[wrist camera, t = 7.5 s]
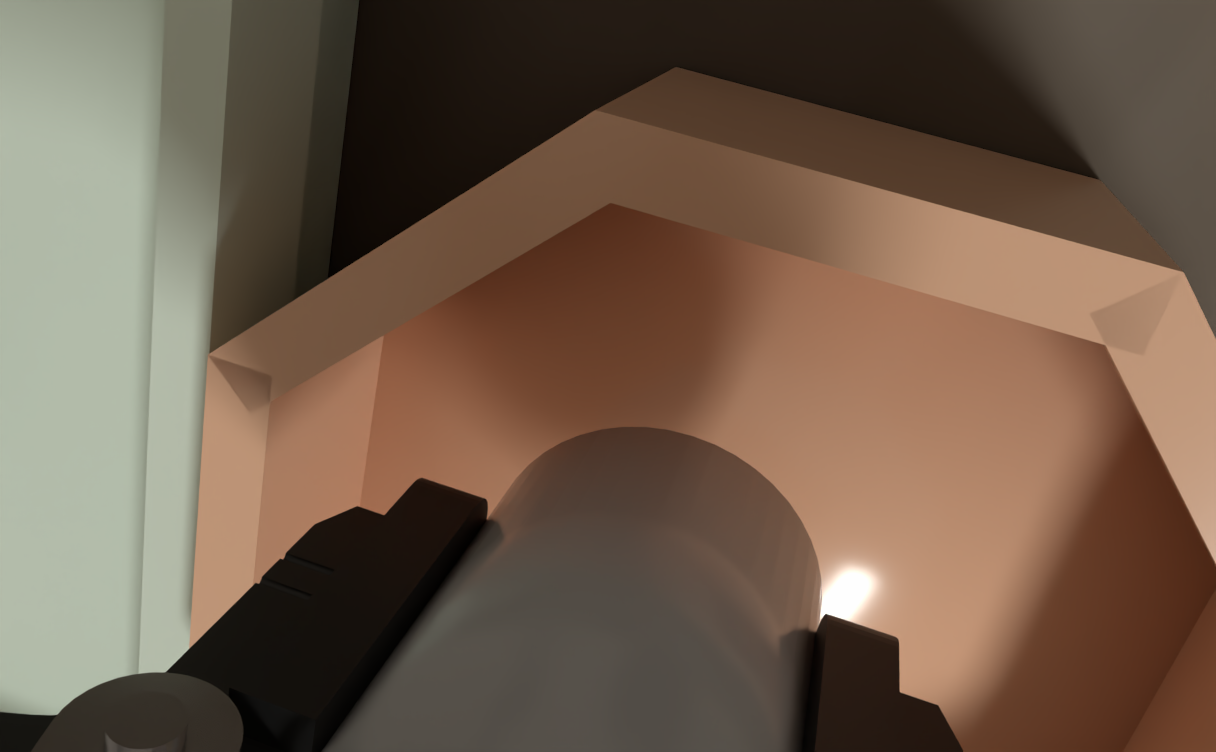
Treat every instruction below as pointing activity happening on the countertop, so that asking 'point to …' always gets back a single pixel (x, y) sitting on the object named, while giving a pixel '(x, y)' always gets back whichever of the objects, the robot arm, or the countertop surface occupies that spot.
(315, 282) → the tray
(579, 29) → the countertop surface
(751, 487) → the pebble
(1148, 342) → the bowl
